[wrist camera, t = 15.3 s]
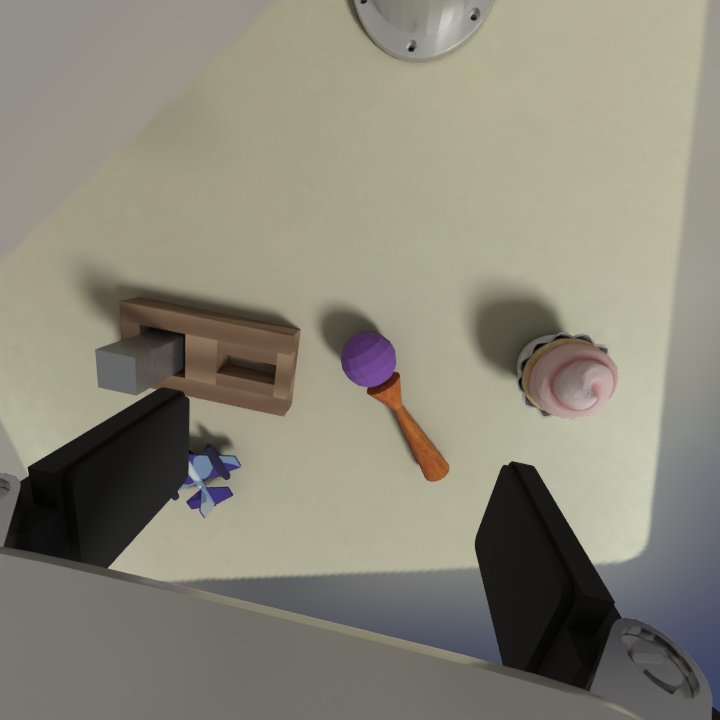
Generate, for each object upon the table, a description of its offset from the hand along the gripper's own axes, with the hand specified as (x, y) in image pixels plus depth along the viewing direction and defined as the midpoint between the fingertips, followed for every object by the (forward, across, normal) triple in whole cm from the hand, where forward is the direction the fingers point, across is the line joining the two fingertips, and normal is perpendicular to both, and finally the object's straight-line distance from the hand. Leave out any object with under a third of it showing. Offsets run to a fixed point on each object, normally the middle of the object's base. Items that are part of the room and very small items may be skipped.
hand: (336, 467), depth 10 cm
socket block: (+30, +19, +10) cm, 37 cm away
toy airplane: (+31, +21, +26) cm, 45 cm away
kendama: (+31, -4, +11) cm, 33 cm away
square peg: (+30, +24, +10) cm, 40 cm away
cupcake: (+31, -19, +3) cm, 36 cm away
